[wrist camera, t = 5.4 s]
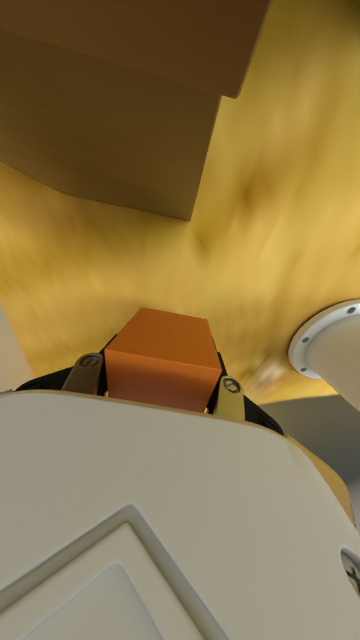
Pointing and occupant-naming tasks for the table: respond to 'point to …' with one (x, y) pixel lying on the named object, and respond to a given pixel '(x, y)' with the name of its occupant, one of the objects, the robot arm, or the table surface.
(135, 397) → the cube
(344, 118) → the table surface
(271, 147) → the table surface
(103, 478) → the robot arm
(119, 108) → the shelf
